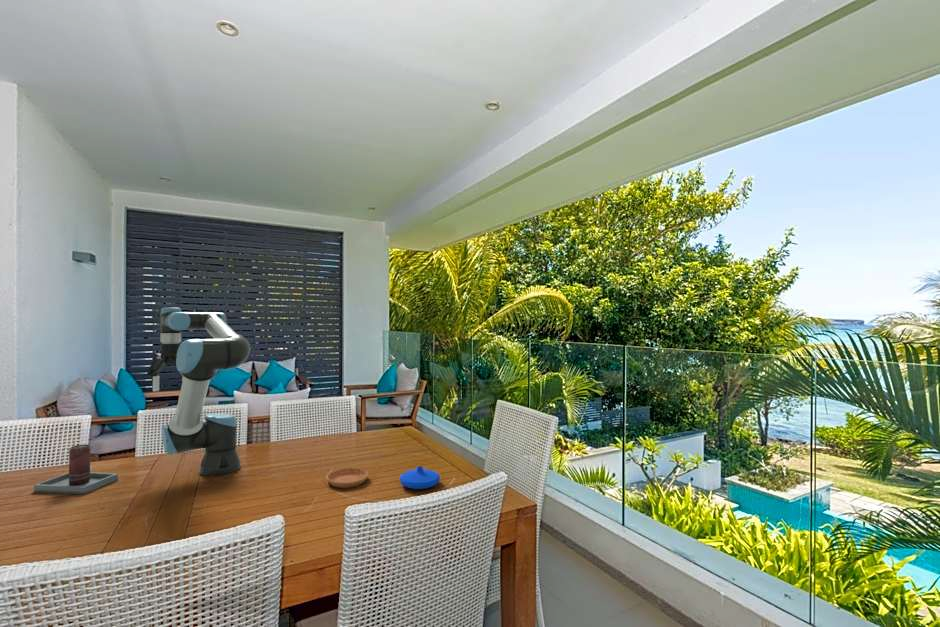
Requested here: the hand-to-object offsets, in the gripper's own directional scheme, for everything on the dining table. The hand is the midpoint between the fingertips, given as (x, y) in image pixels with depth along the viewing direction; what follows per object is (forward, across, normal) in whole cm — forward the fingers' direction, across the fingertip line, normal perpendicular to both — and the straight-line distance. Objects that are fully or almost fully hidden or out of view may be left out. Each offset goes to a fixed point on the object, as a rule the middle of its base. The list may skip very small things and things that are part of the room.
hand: (170, 391), depth 194 cm
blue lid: (+32, -113, +11) cm, 118 cm away
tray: (+32, +16, +26) cm, 44 cm away
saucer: (+32, -84, +11) cm, 90 cm away
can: (+31, +16, +26) cm, 43 cm away
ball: (+32, +24, +15) cm, 43 cm away
